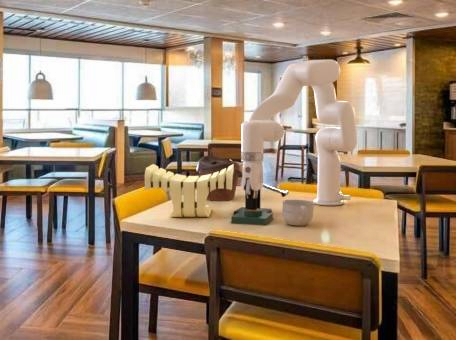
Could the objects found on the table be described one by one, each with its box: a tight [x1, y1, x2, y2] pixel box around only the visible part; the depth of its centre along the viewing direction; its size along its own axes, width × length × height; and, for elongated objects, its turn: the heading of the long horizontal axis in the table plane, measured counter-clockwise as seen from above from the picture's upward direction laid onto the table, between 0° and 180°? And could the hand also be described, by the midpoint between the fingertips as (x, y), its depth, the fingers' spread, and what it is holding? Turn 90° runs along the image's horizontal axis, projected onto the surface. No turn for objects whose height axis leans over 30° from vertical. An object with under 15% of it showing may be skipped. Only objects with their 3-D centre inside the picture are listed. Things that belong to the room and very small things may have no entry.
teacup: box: [282, 199, 315, 227], centre depth 182 cm, size 14×11×8 cm
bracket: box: [233, 188, 273, 216], centre depth 201 cm, size 12×9×14 cm
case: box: [196, 155, 243, 202], centre depth 230 cm, size 18×20×18 cm
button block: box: [230, 208, 274, 226], centre depth 188 cm, size 12×10×4 cm
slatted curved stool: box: [144, 163, 234, 218], centre depth 197 cm, size 30×16×18 cm, turn 96°
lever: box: [262, 183, 290, 198], centre depth 199 cm, size 15×5×2 cm, turn 80°
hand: (252, 209), depth 188 cm, fingers closed
